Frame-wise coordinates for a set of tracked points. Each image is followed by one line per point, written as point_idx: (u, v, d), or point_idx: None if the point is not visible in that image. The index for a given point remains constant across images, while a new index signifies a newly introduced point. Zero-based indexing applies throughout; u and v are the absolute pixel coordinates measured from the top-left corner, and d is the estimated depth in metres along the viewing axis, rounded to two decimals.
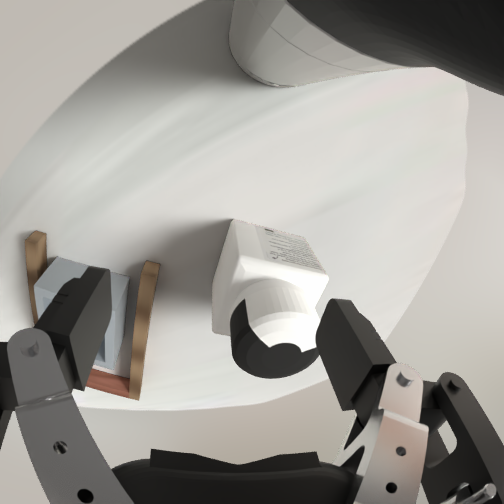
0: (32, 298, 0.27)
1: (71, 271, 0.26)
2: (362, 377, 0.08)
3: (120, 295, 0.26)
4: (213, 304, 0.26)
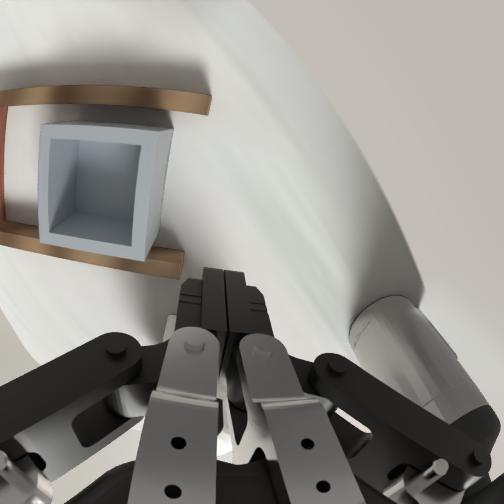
0: (111, 90, 0.17)
1: (164, 164, 0.21)
2: (225, 346, 0.08)
3: (151, 245, 0.22)
4: None
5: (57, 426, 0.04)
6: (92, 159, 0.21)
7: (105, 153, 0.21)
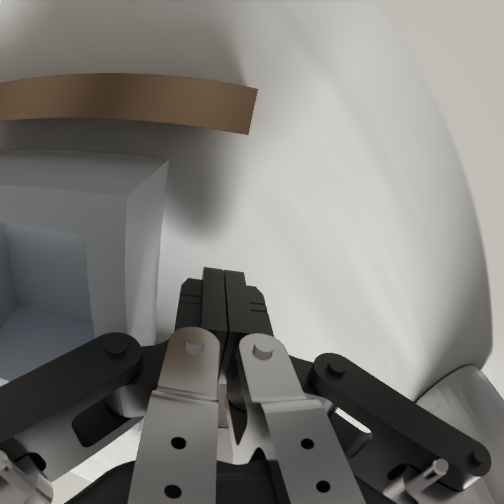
0: (38, 87, 0.07)
1: (153, 241, 0.10)
2: (225, 346, 0.08)
3: None
4: None
5: (57, 426, 0.04)
6: None
7: None
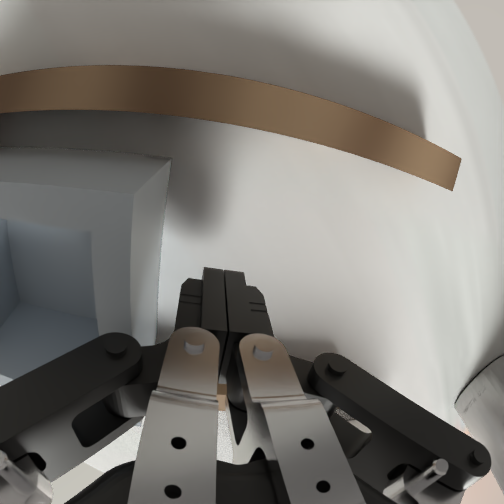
0: (295, 102, 0.08)
1: (156, 238, 0.10)
2: (225, 346, 0.08)
3: None
4: None
5: (57, 426, 0.04)
6: None
7: None
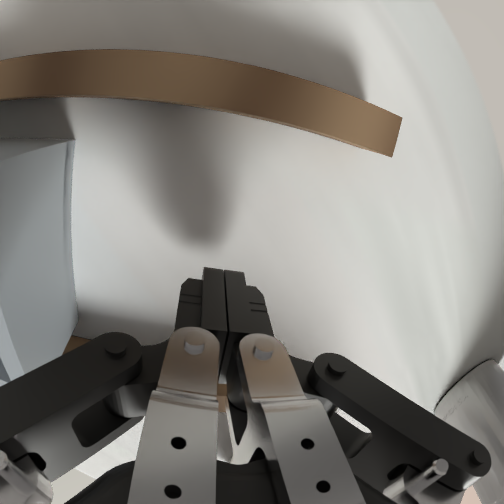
0: (173, 64, 0.07)
1: (51, 218, 0.09)
2: (225, 346, 0.08)
3: None
4: None
5: (57, 426, 0.04)
6: None
7: None
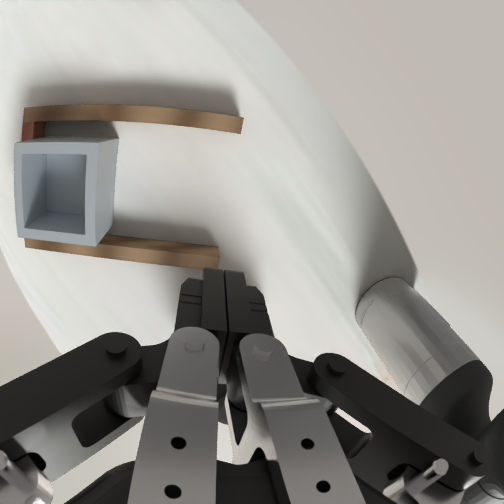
0: (157, 110, 0.22)
1: (110, 168, 0.24)
2: (225, 346, 0.08)
3: (103, 235, 0.25)
4: None
5: (57, 426, 0.04)
6: (57, 168, 0.24)
7: (67, 162, 0.24)
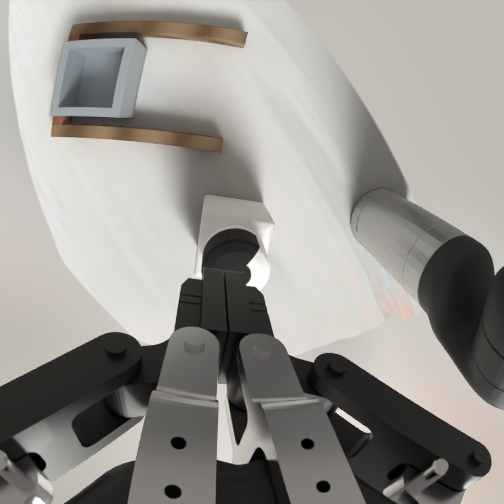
0: (181, 25, 0.25)
1: (139, 67, 0.27)
2: (225, 346, 0.08)
3: (125, 116, 0.28)
4: (212, 204, 0.32)
5: (57, 426, 0.04)
6: (92, 71, 0.27)
7: (101, 66, 0.27)
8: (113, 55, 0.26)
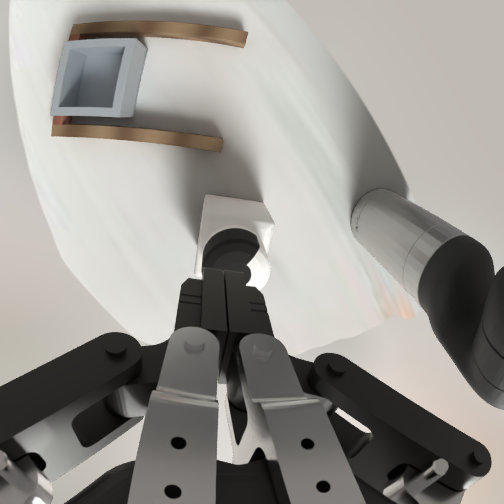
0: (182, 25, 0.25)
1: (139, 67, 0.27)
2: (225, 346, 0.08)
3: (125, 116, 0.28)
4: (212, 204, 0.32)
5: (57, 426, 0.04)
6: (93, 71, 0.27)
7: (102, 66, 0.27)
8: (113, 55, 0.26)
